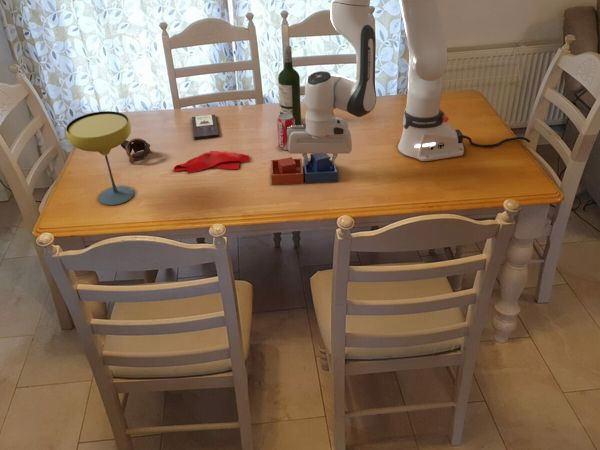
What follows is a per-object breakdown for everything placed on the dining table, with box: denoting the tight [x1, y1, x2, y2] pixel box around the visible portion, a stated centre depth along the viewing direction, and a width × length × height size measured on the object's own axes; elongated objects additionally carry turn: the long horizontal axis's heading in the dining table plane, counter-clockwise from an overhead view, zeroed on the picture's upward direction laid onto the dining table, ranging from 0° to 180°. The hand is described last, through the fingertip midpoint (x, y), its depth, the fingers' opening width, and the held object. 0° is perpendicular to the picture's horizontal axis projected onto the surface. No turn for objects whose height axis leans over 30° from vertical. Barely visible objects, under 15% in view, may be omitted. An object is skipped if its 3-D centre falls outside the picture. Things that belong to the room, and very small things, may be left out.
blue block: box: [309, 153, 331, 172], centre depth 182 cm, size 5×5×5 cm
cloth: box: [172, 150, 251, 174], centre depth 193 cm, size 26×14×2 cm, turn 94°
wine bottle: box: [277, 44, 302, 125], centre depth 208 cm, size 8×8×30 cm
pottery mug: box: [120, 137, 152, 165], centre depth 196 cm, size 12×9×8 cm
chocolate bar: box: [191, 114, 219, 140], centre depth 215 cm, size 9×1×18 cm
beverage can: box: [276, 113, 295, 151], centre depth 197 cm, size 6×6×12 cm
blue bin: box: [302, 156, 338, 184], centre depth 184 cm, size 10×10×4 cm
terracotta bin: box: [270, 157, 305, 186], centre depth 184 cm, size 10×10×4 cm
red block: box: [277, 156, 296, 174], centre depth 183 cm, size 5×5×5 cm
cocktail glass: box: [65, 110, 135, 206], centre depth 171 cm, size 18×18×25 cm
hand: (320, 164), depth 183 cm, fingers closed on blue block, 6 cm apart
